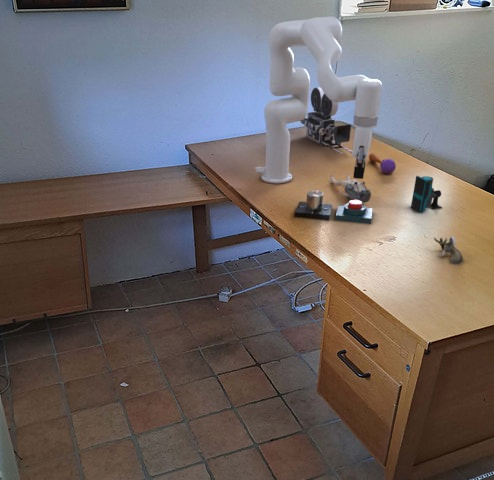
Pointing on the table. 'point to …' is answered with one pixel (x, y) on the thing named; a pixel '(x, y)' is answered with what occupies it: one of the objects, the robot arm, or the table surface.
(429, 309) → the table surface
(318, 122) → the film camera
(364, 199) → the anime figure
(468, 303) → the table surface
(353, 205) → the red button
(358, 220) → the button box
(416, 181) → the surveillance camera
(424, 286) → the table surface
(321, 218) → the dial panel
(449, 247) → the antlered animal figurine
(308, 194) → the dial
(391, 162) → the purple maraca
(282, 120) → the robot arm
